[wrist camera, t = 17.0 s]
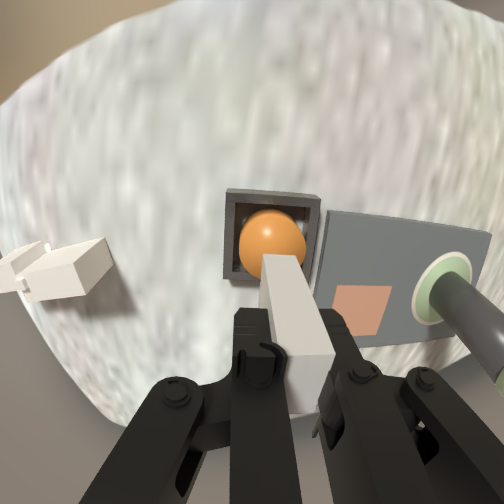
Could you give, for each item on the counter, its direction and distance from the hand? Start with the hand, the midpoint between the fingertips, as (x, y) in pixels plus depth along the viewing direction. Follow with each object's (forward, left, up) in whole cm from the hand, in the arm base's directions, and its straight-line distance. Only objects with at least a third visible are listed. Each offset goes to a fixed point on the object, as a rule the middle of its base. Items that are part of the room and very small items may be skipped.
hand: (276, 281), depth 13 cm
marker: (-17, +4, -6) cm, 19 cm away
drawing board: (-13, +4, -7) cm, 15 cm away
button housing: (0, 0, -7) cm, 7 cm away
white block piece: (+18, +2, -8) cm, 20 cm away
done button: (0, 0, -7) cm, 7 cm away
